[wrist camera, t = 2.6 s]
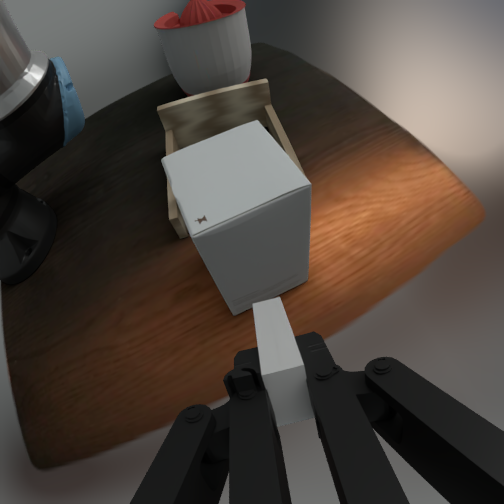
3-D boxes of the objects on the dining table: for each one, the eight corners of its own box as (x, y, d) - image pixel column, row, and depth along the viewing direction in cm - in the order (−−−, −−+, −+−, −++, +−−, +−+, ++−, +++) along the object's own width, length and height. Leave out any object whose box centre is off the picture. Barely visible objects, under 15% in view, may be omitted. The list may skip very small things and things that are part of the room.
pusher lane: (180, 238, 38) (156, 197, 31) (173, 146, 47) (157, 106, 41) (308, 206, 38) (309, 158, 31) (271, 120, 47) (266, 78, 40)
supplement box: (311, 281, 33) (316, 184, 20) (233, 318, 32) (188, 240, 19) (273, 219, 38) (259, 116, 25) (203, 250, 37) (157, 156, 24)
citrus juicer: (233, 61, 61) (217, -18, 44) (273, 90, 52) (260, -10, 35) (167, 86, 59) (140, 6, 42) (193, 121, 50) (160, 17, 33)
